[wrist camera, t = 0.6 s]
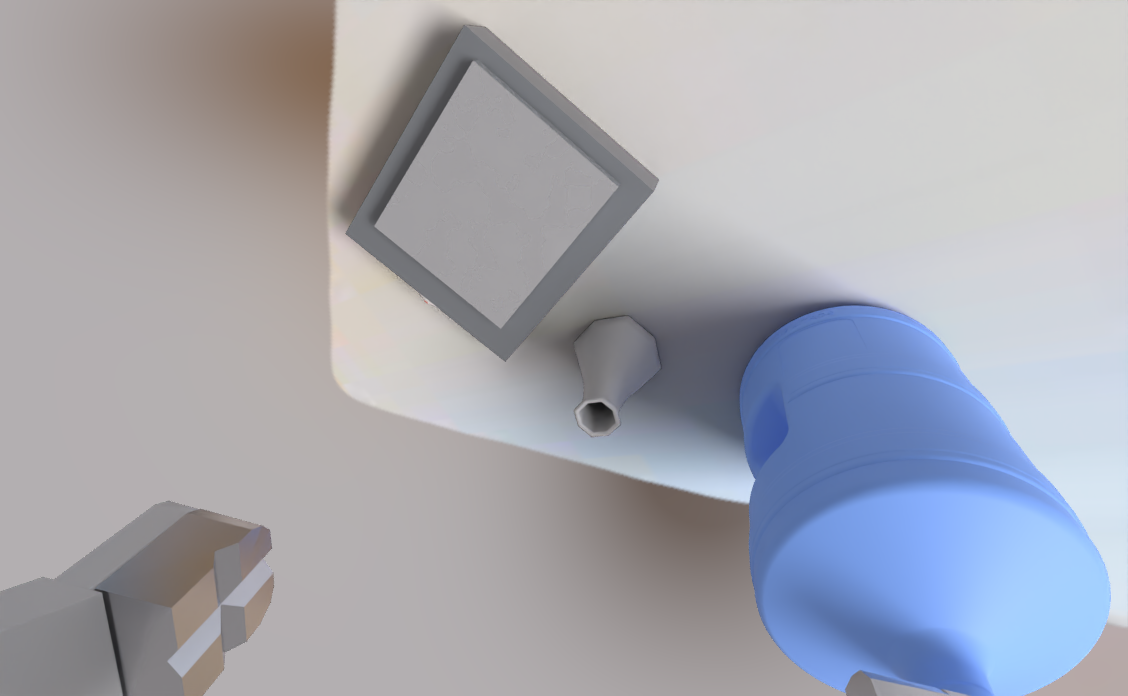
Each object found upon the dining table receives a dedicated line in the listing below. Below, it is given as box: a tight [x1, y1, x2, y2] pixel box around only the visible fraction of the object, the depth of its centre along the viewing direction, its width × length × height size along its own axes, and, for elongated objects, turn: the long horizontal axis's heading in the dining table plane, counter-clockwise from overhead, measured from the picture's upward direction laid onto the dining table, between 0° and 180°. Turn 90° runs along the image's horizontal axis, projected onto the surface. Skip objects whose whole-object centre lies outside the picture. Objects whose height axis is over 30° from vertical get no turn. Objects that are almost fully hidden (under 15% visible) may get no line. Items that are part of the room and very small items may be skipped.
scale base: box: [345, 25, 659, 362], centre depth 44 cm, size 19×16×4 cm
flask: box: [573, 316, 661, 437], centre depth 45 cm, size 7×7×10 cm
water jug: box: [739, 306, 1111, 696], centre depth 34 cm, size 16×16×28 cm
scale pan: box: [374, 60, 620, 329], centre depth 41 cm, size 14×12×1 cm
